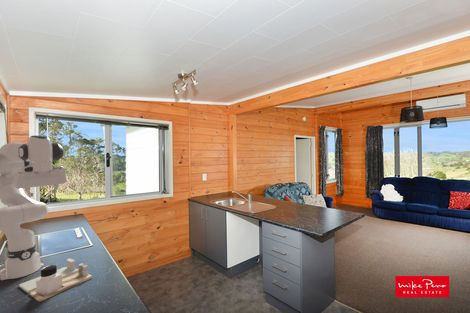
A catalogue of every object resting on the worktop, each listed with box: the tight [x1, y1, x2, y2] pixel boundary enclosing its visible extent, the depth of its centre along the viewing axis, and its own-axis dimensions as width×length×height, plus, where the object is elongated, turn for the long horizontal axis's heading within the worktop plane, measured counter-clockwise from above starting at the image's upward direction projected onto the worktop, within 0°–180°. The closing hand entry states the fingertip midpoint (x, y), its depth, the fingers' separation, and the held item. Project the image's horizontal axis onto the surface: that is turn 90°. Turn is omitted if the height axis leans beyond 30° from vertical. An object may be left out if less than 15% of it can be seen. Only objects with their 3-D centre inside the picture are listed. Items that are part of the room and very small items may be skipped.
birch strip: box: [28, 263, 93, 303], centre depth 117 cm, size 12×22×6 cm, turn 148°
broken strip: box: [18, 257, 79, 294], centre depth 124 cm, size 12×22×6 cm, turn 148°
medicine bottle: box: [36, 264, 62, 297], centre depth 112 cm, size 7×7×12 cm
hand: (42, 195), depth 117 cm, fingers open, 8 cm apart
